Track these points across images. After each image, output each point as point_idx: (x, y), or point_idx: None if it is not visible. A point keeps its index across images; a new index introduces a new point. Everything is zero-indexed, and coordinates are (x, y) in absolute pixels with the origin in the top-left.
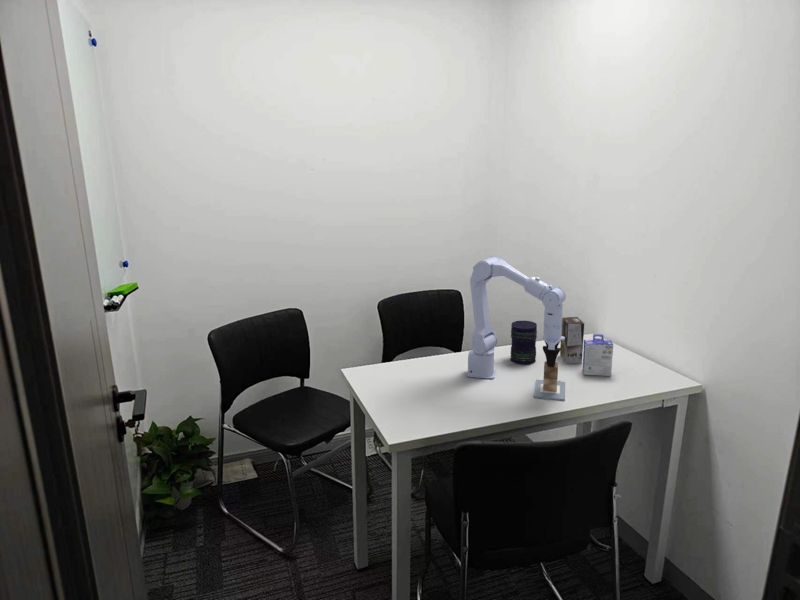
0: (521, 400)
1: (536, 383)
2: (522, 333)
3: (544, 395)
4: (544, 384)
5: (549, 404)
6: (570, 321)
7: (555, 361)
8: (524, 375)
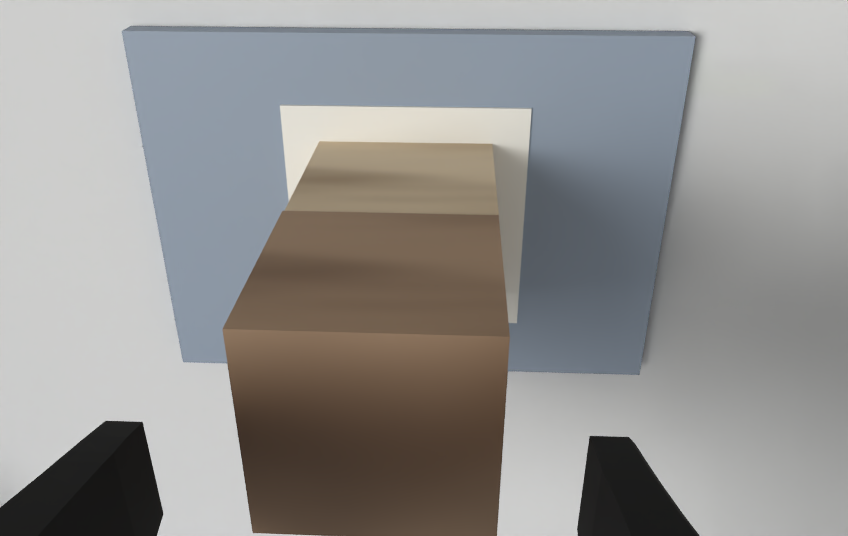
0: (702, 458)
1: None
2: None
3: (606, 276)
4: None
5: (794, 212)
6: None
7: (695, 531)
8: None
